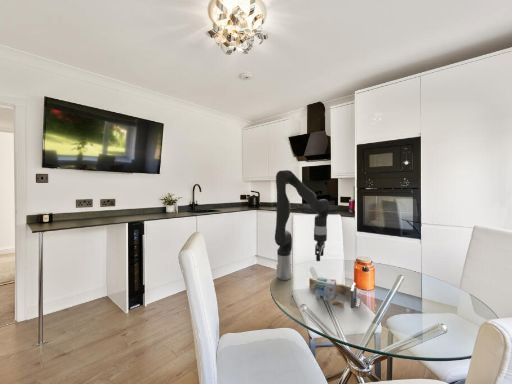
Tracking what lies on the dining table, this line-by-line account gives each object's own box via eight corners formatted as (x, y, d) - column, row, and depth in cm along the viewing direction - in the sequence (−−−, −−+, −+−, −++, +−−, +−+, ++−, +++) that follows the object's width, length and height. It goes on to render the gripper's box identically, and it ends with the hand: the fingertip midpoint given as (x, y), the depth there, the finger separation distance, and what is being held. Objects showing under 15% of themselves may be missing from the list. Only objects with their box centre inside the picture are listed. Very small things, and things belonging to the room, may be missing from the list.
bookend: (350, 307, 135) (350, 290, 134) (353, 298, 144) (353, 282, 143) (358, 309, 133) (358, 292, 132) (360, 300, 142) (360, 283, 141)
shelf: (303, 297, 147) (303, 288, 146) (310, 286, 159) (310, 277, 158) (353, 309, 133) (353, 299, 132) (356, 296, 145) (356, 287, 145)
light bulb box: (315, 298, 146) (315, 280, 144) (318, 292, 152) (318, 276, 150) (334, 302, 141) (334, 284, 140) (336, 296, 147) (336, 279, 145)
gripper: (317, 228, 155) (316, 253, 157) (310, 235, 142) (310, 261, 145) (329, 230, 151) (328, 255, 154) (324, 236, 139) (323, 264, 141)
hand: (319, 258), depth 149 cm, fingers open, 8 cm apart
